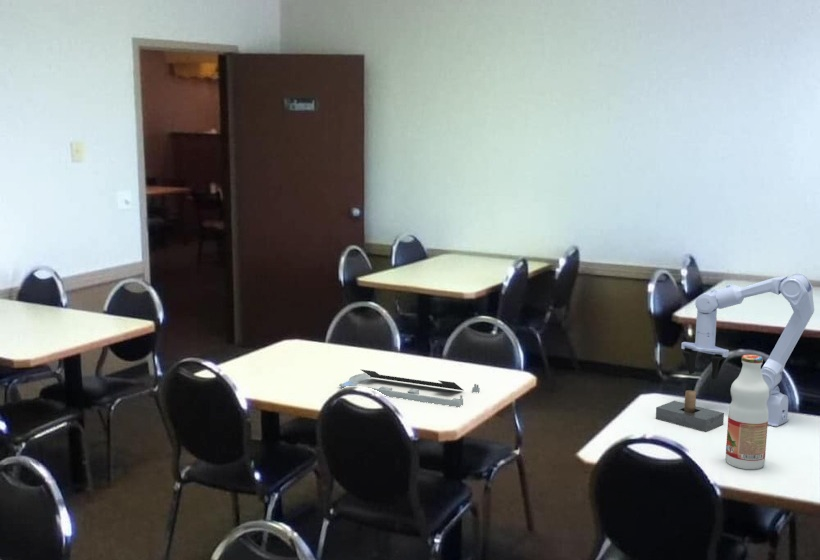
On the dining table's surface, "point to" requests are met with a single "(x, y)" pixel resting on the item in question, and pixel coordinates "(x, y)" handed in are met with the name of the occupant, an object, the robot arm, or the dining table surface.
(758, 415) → the fruit juice
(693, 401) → the peg
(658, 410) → the block with square hole
